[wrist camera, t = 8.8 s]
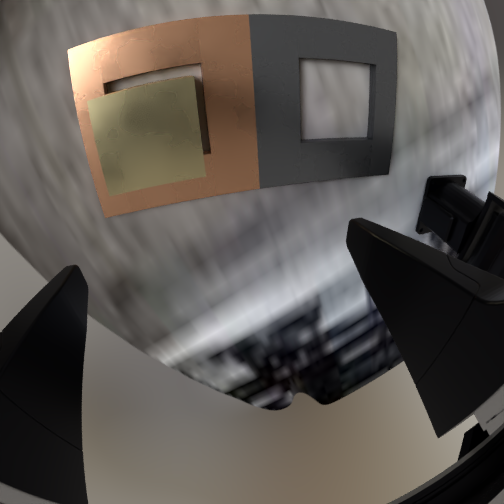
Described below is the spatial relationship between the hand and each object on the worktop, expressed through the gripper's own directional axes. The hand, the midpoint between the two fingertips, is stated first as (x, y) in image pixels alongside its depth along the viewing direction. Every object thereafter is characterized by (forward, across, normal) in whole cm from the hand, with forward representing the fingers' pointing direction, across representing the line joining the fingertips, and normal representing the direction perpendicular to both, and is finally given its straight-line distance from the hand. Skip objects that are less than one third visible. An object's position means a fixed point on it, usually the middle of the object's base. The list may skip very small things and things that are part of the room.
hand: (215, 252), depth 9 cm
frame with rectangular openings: (+12, -4, -3) cm, 13 cm away
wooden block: (+12, +2, -3) cm, 12 cm away
